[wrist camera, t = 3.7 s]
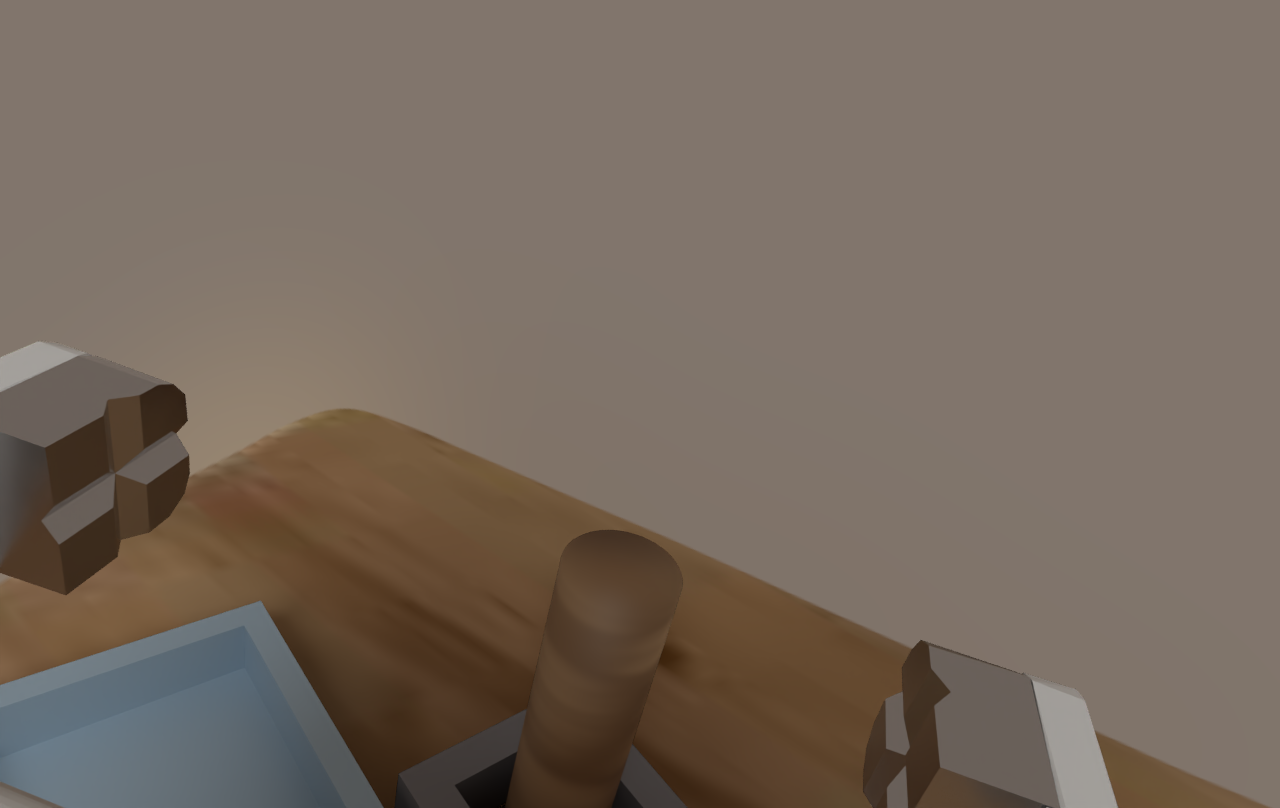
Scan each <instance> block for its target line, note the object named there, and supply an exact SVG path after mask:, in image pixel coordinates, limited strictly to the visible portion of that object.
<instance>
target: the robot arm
mask: <svg viewBox="0 0 1280 808" xmlns="http://www.w3.org/2000/svg"><path fill="white" fill-rule="evenodd" d="M187 421H188V419H187V408H186V398H185V394H184V393H183V392H182V391H181V390H179V389H178V388H177V387H176V386H175V385H174V384H172V383H169V382H166V381H163V380H160V379H158V378H155V377H153V376H150V375H147V374H144V373H142V372H139V371H136V370H133V369H131V368H128V367H125V366H123V365H120V364H117V363H114V362H112V361H109V360H106V359H103V358H101V357H98V356H92V355H90V354H88V353H86V352H83V351H80V350H77V349H75V348H72V347H69V346H66V345H63V344H60V343H58V342H42V341H38V342H36V343H33V344H31V345H28V346H26V347H24V348H21V349H19V350H17V351H14V352H12V353H9V354H7V355H5V356H2V357H0V573H2V574H5V575H8V576H11V577H14V578H17V579H20V580H23V581H25V582H28V583H31V584H34V585H37V586H40V587H43V588H46V589H49V590H52V591H55V592H58V593H60V594H63V595H67V594H69V593H70V592H71V591H73V590H74V589H75V588H77V587H78V586H79V585H81V584H82V583H83V582H85V581H86V580H87V579H89V578H90V577H91V576H93V575H94V574H95V573H97V572H98V571H99V570H101V569H102V568H103V567H105V566H106V565H107V564H109V563H110V562H111V561H113V560H114V559H115V558H116V557H118V552H119V547H120V542H121V540H122V539H126V538H130V537H133V536H137V535H141V534H145V533H149V532H151V531H152V530H153V529H154V528H156V527H157V526H158V525H159V524H161V523H162V522H163V521H164V520H166V519H167V518H168V517H169V516H170V515H171V513H172V512H173V510H174V509H175V507H176V506H177V504H178V503H179V501H180V500H181V498H182V497H183V495H184V494H185V490H186V486H187V482H188V478H189V474H190V471H189V470H190V469H189V454H188V452H187V451H186V449H185V447H184V446H183V444H182V442H181V441H180V439H179V438H178V436H177V434H176V433H177V432H178V431H179V430H180V429H181V427H182V426H183V425H184V424H185V423H186V422H187ZM902 686H903V691H902V692H900V693H898V694H896V695H893V696H891V697H889V698H886V699H885V701H884V703H883V705H882V707H881V709H880V711H879V713H878V716H877V718H876V720H875V722H874V725H873V728H872V731H871V735H870V738H869V742H868V745H867V748H866V756H865V763H864V774H863V792H864V794H865V796H866V797H867V799H868V800H869V802H870V804H871V805H872V807H873V808H1118V805H1117V802H1116V799H1115V796H1114V792H1113V789H1112V786H1111V783H1110V780H1109V776H1108V773H1107V770H1106V767H1105V763H1104V760H1103V757H1102V754H1101V750H1100V747H1099V744H1098V741H1097V738H1096V734H1095V731H1094V728H1093V725H1092V721H1091V718H1090V715H1089V712H1088V709H1087V705H1086V702H1085V699H1084V698H1083V696H1082V695H1081V694H1080V693H1079V692H1078V691H1077V690H1076V689H1073V688H1071V687H1067V686H1064V685H1061V684H1058V683H1055V682H1052V681H1048V680H1045V679H1042V678H1039V677H1036V676H1032V675H1029V674H1026V673H1022V674H1020V673H1017V672H1015V671H1012V670H1009V669H1006V668H1002V667H1000V666H997V665H994V664H991V663H987V662H985V661H982V660H979V659H976V658H973V657H970V656H967V655H964V654H961V653H958V652H955V651H952V650H949V649H946V648H943V647H940V646H937V645H934V644H931V643H928V642H925V641H922V640H920V641H919V643H918V644H917V645H916V646H915V647H914V648H913V649H912V650H911V652H910V654H909V656H908V657H907V659H906V661H905V663H904V665H903V667H902ZM0 808H64V807H62V806H59V805H57V804H55V803H52V802H50V801H47V800H45V799H42V798H40V797H37V796H35V795H32V794H30V793H27V792H25V791H23V790H20V789H18V788H15V787H13V786H10V785H8V784H5V783H3V782H0Z"/></svg>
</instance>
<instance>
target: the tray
mask: <svg viewBox="0 0 1280 808" xmlns="http://www.w3.org/2000/svg"><path fill="white" fill-rule="evenodd" d="M0 782H3V783H5V784H8V785H10V786H13V787H15V788H18V789H20V790H23V791H25V792H27V793H30V794H32V795H35V796H37V797H40V798H42V799H45V800H47V801H50V802H52V803H55V804H57V805H59V806H62V807H64V808H384V807H383V806H382V804H381V802H380V801H379V799H378V797H377V796H376V794H375V792H374V791H373V789H372V787H371V786H370V784H369V782H368V781H367V779H366V777H365V775H364V774H363V772H362V770H361V769H360V767H359V765H358V764H357V762H356V760H355V759H354V757H353V755H352V754H351V752H350V750H349V749H348V747H347V745H346V743H345V742H344V740H343V738H342V737H341V735H340V733H339V732H338V730H337V728H336V727H335V725H334V723H333V722H332V720H331V718H330V717H329V715H328V713H327V711H326V710H325V708H324V706H323V705H322V703H321V701H320V700H319V698H318V696H317V695H316V693H315V691H314V690H313V688H312V686H311V685H310V683H309V681H308V679H307V678H306V676H305V674H304V673H303V671H302V669H301V668H300V666H299V664H298V663H297V661H296V659H295V658H294V656H293V654H292V653H291V651H290V649H289V647H288V646H287V644H286V642H285V641H284V639H283V637H282V636H281V634H280V632H279V631H278V629H277V627H276V626H275V624H274V622H273V621H272V619H271V617H270V616H269V614H268V612H267V610H266V609H265V607H264V605H263V604H262V602H261V601H258V602H255V603H252V604H249V605H246V606H243V607H240V608H237V609H234V610H230V611H227V612H224V613H221V614H218V615H215V616H212V617H209V618H206V619H203V620H200V621H197V622H193V623H190V624H187V625H184V626H181V627H178V628H175V629H172V630H169V631H166V632H163V633H160V634H156V635H153V636H150V637H147V638H144V639H141V640H138V641H135V642H132V643H129V644H126V645H123V646H119V647H116V648H113V649H110V650H107V651H104V652H101V653H98V654H95V655H92V656H89V657H86V658H82V659H79V660H76V661H73V662H70V663H67V664H64V665H61V666H58V667H55V668H52V669H48V670H45V671H42V672H39V673H36V674H33V675H30V676H27V677H24V678H21V679H18V680H15V681H11V682H8V683H5V684H2V685H0Z"/></svg>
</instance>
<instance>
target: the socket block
mask: <svg viewBox="0 0 1280 808" xmlns="http://www.w3.org/2000/svg"><path fill="white" fill-rule="evenodd" d="M526 711H527V709H526V710H524V711H522V712H520V713H518V714H516V715H514V716H512V717H510V718H508V719H506V720H504V721H502V722H500V723H498V724H496V725H494V726H492V727H490V728H488V729H486V730H484V731H482V732H480V733H478V734H476V735H474V736H472V737H470V738H468V739H466V740H464V741H462V742H460V743H458V744H456V745H454V746H452V747H450V748H448V749H446V750H444V751H442V752H440V753H438V754H436V755H434V756H432V757H430V758H429V759H427V760H425V761H423V762H421V763H419V764H417V765H415V766H413V767H411V768H409V769H407V770H405V771H403V772H401V773H399V775H398V783H397V791H396V799H395V807H394V808H496V807H498V806H499V805H501V804H503V803H505V802H506V800H507V795H508V791H509V786H510V782H511V778H512V773H513V769H514V764H515V760H516V755H517V751H518V746H519V742H520V738H521V733H522V729H523V724H524V720H525V715H526ZM612 808H687V807H686V806H685V804H684V803H683V802H682V801H681V800H680V799H679V797H678V796H677V795H676V794H675V793H674V792H673V791H672V789H671V788H670V787H669V786H668V785H667V784H666V782H665V781H664V780H663V779H662V778H661V777H660V775H659V774H658V773H657V772H656V771H655V770H654V769H653V767H652V766H651V765H650V764H649V763H648V762H647V760H646V759H645V758H644V757H643V756H642V755H641V753H640V752H639V751H638V750H637V749H636V748H635V747H634V745H633V744H632V746H631V749H630V752H629V755H628V758H627V761H626V764H625V767H624V771H623V774H622V777H621V780H620V783H619V786H618V789H617V792H616V795H615V798H614V801H613V805H612Z"/></svg>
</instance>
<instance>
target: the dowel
mask: <svg viewBox="0 0 1280 808" xmlns="http://www.w3.org/2000/svg"><path fill="white" fill-rule="evenodd" d="M682 587H683V578H682V574H681V571H680V568H679V566H678V565H677V563H676V562H675V560H674V559H673V558H672V556H671V555H670V554H669V553H668V552H666V551H665V550H664V549H663V548H662V547H660V546H659V545H657V544H656V543H654V542H652V541H650V540H648V539H646V538H644V537H642V536H639V535H636V534H632V533H629V532H624V531H617V530H599V531H593V532H589V533H586V534H583V535H581V536H578V537H577V538H575V539H574V540H572V541H571V542H570V543H569V544H568V545H567V546H566V547H565V549H564V551H563V553H562V556H561V560H560V564H559V569H558V573H557V578H556V582H555V586H554V591H553V595H552V600H551V604H550V609H549V613H548V618H547V622H546V626H545V631H544V635H543V640H542V644H541V649H540V653H539V658H538V662H537V666H536V671H535V675H534V680H533V684H532V689H531V693H530V698H529V702H528V706H527V711H526V715H525V720H524V724H523V729H522V733H521V738H520V742H519V746H518V751H517V755H516V760H515V764H514V769H513V773H512V778H511V782H510V786H509V791H508V795H507V800H506V804H505V808H612V805H613V801H614V798H615V795H616V792H617V789H618V786H619V783H620V780H621V777H622V774H623V771H624V767H625V764H626V761H627V758H628V755H629V752H630V749H631V746H632V743H633V740H634V737H635V733H636V730H637V727H638V724H639V721H640V718H641V715H642V712H643V709H644V706H645V703H646V699H647V696H648V693H649V690H650V687H651V684H652V681H653V678H654V675H655V672H656V669H657V665H658V662H659V659H660V656H661V653H662V650H663V647H664V644H665V641H666V638H667V635H668V631H669V628H670V625H671V622H672V619H673V616H674V613H675V610H676V607H677V604H678V601H679V597H680V594H681V591H682Z"/></svg>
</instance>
